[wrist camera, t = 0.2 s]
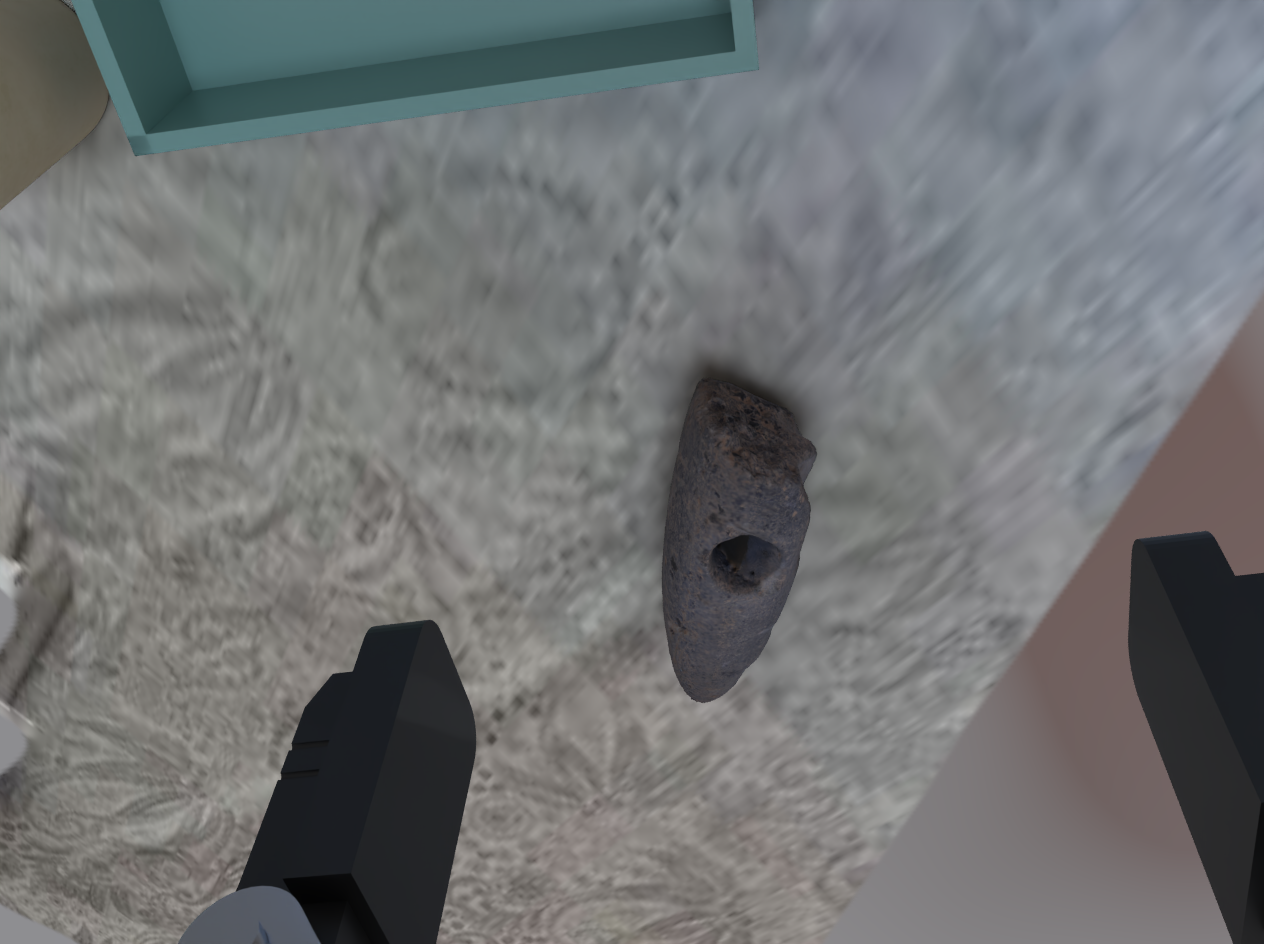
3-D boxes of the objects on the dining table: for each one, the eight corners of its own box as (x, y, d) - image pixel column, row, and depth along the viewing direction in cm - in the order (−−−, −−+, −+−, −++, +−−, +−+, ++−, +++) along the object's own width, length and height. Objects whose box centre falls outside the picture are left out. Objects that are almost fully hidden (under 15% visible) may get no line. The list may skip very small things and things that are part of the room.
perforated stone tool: (754, 643, 54) (759, 765, 48) (638, 627, 54) (629, 748, 48) (830, 356, 45) (847, 464, 39) (691, 337, 45) (688, 442, 39)
